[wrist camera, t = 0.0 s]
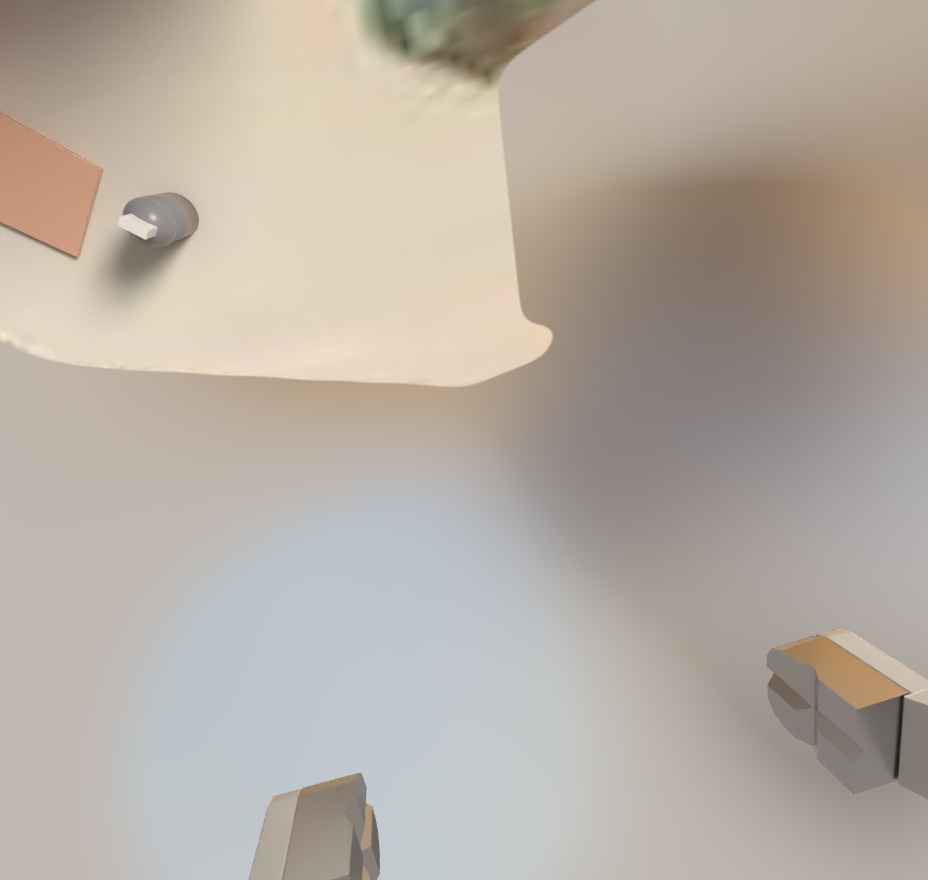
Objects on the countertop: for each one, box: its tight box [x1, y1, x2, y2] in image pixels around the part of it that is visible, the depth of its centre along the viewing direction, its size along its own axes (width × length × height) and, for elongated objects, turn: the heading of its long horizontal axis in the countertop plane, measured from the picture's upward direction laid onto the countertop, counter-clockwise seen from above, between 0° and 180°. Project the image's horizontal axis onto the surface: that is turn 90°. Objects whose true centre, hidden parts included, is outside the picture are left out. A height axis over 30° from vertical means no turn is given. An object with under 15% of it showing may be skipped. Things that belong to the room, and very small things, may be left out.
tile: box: [0, 114, 103, 257], centre depth 42 cm, size 9×9×1 cm
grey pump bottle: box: [117, 193, 199, 247], centre depth 41 cm, size 4×4×11 cm
